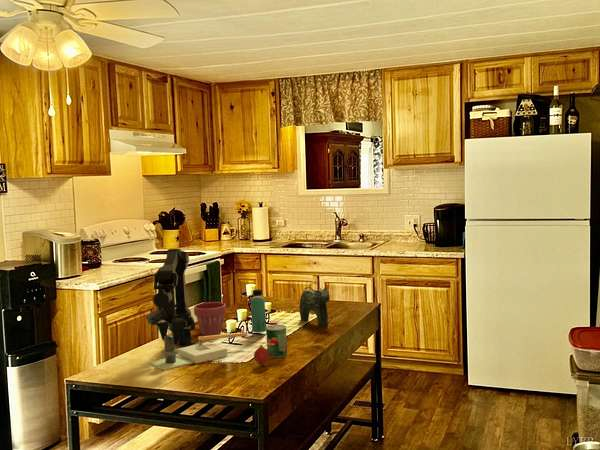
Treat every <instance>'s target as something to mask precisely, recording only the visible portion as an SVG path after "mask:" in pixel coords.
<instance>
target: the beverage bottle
mask: <svg viewBox="0 0 600 450" xmlns="http://www.w3.org/2000/svg"><path fill="white" fill-rule="evenodd" d="M261 295H263V291H262V289H259V288H258V289H253V290H252V296H254V297H252V298H250V309H251V310H250V311H251V312H250V313H251V314H250V315H251V316H250V318H251V330H252V332H253V333H256V334H257V333H264V332H266V327H267V317H266V316H267V315H266V301H265V298H264V297H262V296H261Z"/></svg>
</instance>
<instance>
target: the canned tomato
mask: <svg viewBox="0 0 600 450" xmlns="http://www.w3.org/2000/svg"><path fill="white" fill-rule="evenodd" d="M265 332H266V333H265V334H266V349H267V350H268V352H269V356H270V357H269V358H283V357H286V356H287V355H288V345H287V341H288V340H287V326H285V325H283V324H272V325H266V331H265Z"/></svg>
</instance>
